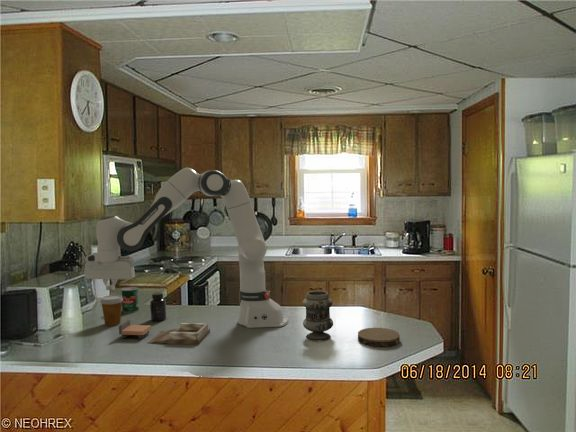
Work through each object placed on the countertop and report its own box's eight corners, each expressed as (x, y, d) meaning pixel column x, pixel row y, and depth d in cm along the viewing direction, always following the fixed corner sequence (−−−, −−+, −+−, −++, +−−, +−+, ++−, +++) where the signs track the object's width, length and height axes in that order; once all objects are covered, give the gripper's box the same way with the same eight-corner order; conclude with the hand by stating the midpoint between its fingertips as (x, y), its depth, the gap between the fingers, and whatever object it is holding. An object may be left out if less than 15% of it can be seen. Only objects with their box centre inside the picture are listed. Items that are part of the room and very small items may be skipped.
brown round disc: (350, 343, 187) (350, 335, 187) (368, 332, 200) (368, 325, 200) (389, 351, 178) (389, 343, 178) (405, 339, 191) (405, 331, 191)
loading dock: (210, 334, 202) (209, 322, 202) (199, 347, 187) (198, 334, 187) (161, 333, 205) (160, 321, 204) (146, 345, 190) (145, 332, 190)
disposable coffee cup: (128, 321, 219) (127, 295, 219) (114, 327, 210) (113, 300, 210) (111, 320, 223) (110, 294, 222) (96, 326, 214) (95, 299, 213)
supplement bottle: (168, 317, 225) (167, 292, 224) (163, 321, 218) (162, 295, 217) (154, 317, 226) (153, 291, 225) (148, 321, 219) (147, 295, 218)
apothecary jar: (317, 330, 202) (316, 287, 201) (339, 337, 194) (339, 292, 192) (296, 337, 194) (296, 292, 193) (319, 344, 185) (318, 297, 184)
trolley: (151, 333, 202) (150, 320, 201) (143, 340, 194) (142, 326, 193) (128, 333, 203) (127, 320, 203) (119, 339, 195) (118, 325, 195)
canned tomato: (123, 313, 233) (122, 291, 232) (120, 309, 240) (120, 287, 239) (140, 311, 237) (139, 289, 236) (137, 307, 244) (136, 286, 243)
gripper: (136, 255, 199) (138, 288, 200) (89, 254, 202) (91, 287, 203) (129, 257, 193) (131, 291, 194) (81, 257, 195) (83, 291, 196)
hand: (110, 289), depth 198 cm, fingers closed
